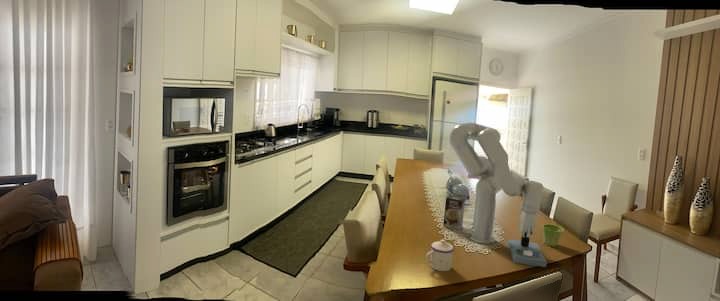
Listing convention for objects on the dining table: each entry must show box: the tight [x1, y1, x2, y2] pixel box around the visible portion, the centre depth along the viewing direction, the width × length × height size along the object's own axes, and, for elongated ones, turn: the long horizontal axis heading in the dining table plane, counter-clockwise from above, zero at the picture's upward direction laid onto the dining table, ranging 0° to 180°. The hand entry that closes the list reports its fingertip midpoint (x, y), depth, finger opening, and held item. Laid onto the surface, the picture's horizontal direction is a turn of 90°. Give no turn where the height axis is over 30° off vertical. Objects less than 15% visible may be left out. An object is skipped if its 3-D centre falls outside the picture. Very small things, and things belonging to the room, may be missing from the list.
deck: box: [507, 238, 548, 268], centre depth 173 cm, size 20×13×2 cm, turn 167°
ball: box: [522, 250, 533, 257], centre depth 168 cm, size 4×4×4 cm
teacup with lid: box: [425, 239, 454, 272], centre depth 156 cm, size 12×9×12 cm
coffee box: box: [442, 194, 466, 231], centre depth 202 cm, size 9×6×16 cm
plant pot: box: [541, 223, 565, 247], centre depth 186 cm, size 9×9×9 cm
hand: (524, 245), depth 177 cm, fingers closed
